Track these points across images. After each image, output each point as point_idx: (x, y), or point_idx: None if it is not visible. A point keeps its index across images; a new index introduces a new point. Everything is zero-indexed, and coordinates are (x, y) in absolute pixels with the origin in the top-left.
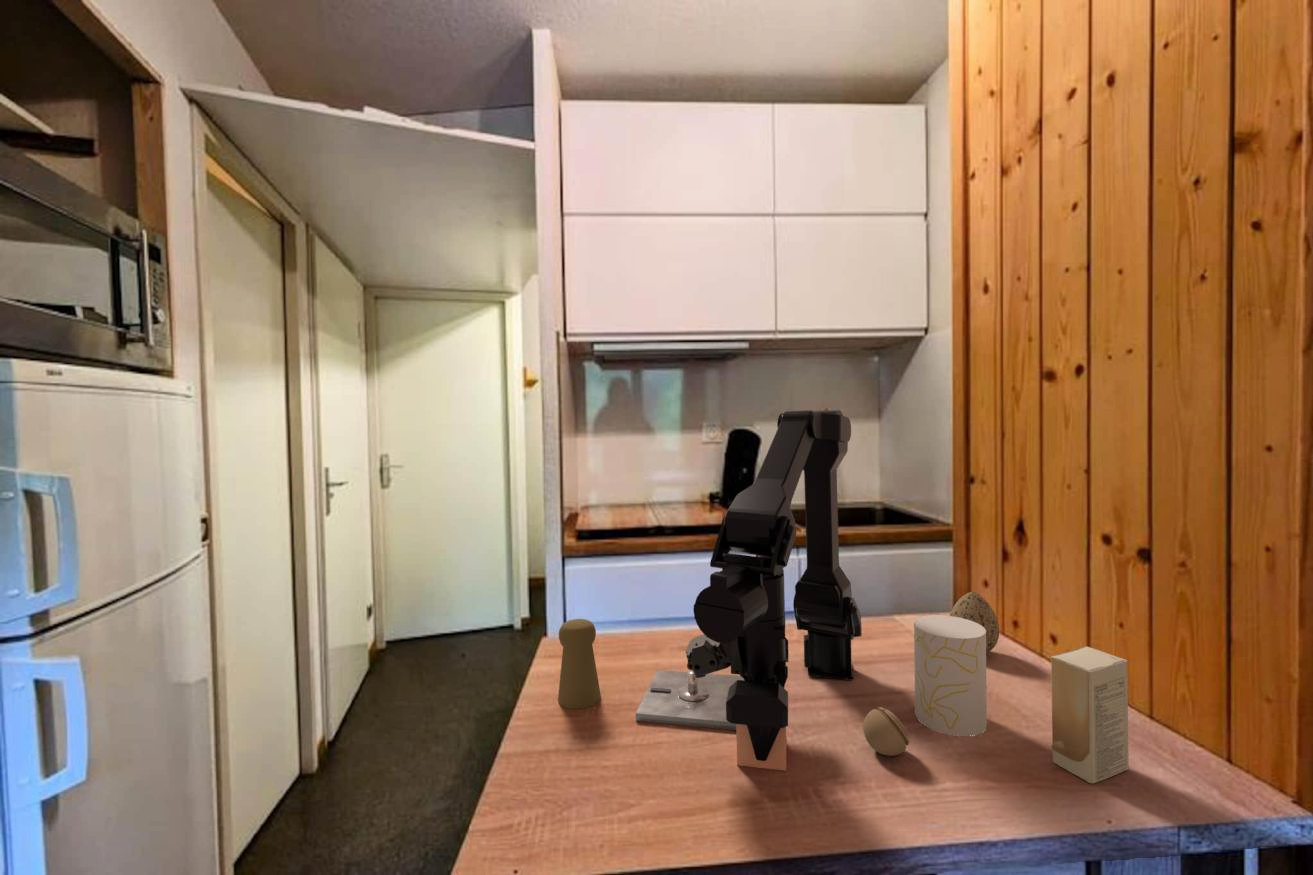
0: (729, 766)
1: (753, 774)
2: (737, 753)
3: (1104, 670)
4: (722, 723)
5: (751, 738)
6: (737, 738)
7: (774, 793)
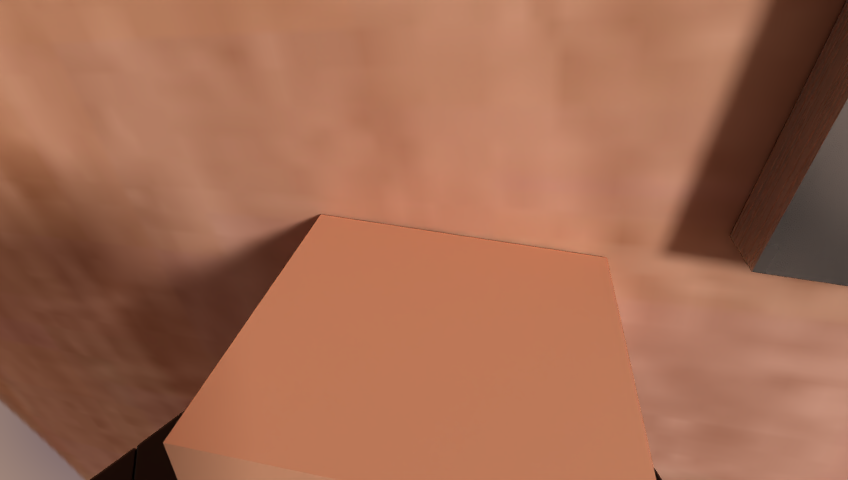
0: (302, 171)
1: (269, 278)
2: (296, 256)
3: None
4: (799, 162)
5: (158, 433)
6: (247, 328)
7: (174, 333)
